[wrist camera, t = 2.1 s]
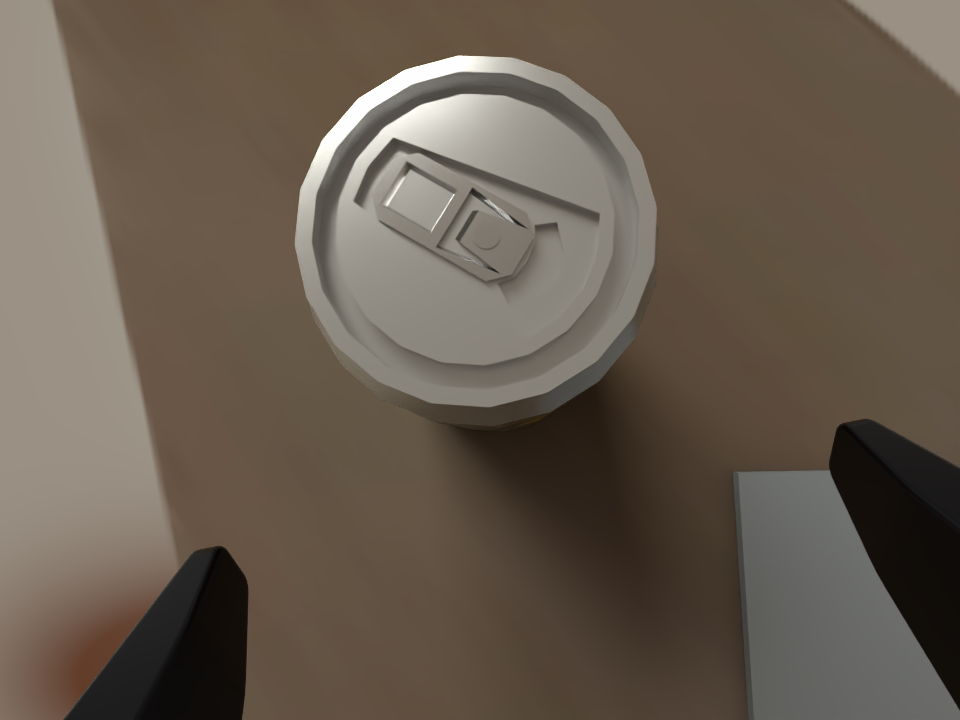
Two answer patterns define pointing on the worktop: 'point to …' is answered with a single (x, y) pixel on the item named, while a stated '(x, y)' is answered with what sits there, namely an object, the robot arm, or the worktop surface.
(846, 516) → the grey mat
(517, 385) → the beer can
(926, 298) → the worktop surface
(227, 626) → the robot arm
